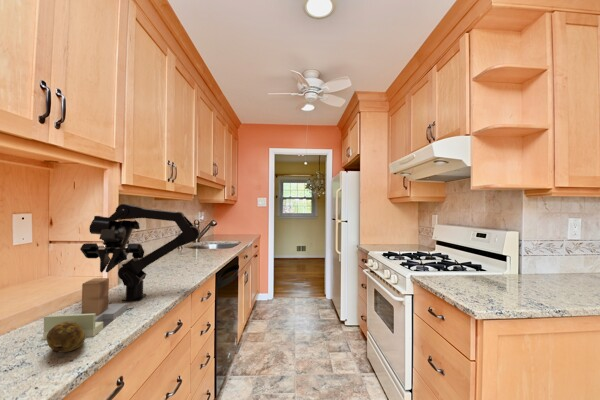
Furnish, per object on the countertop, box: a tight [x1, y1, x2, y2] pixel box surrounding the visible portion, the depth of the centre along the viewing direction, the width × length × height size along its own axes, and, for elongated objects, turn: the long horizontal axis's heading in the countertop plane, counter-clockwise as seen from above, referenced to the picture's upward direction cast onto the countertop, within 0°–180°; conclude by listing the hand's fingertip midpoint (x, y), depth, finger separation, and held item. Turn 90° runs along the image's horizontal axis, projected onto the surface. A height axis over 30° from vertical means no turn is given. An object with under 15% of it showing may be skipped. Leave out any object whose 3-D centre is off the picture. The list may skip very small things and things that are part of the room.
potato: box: [46, 322, 86, 354], centre depth 68 cm, size 8×13×8 cm, turn 16°
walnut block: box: [81, 277, 110, 316], centre depth 87 cm, size 6×4×10 cm
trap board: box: [43, 302, 128, 341], centre depth 84 cm, size 20×12×6 cm, turn 9°
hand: (103, 271), depth 92 cm, fingers closed
